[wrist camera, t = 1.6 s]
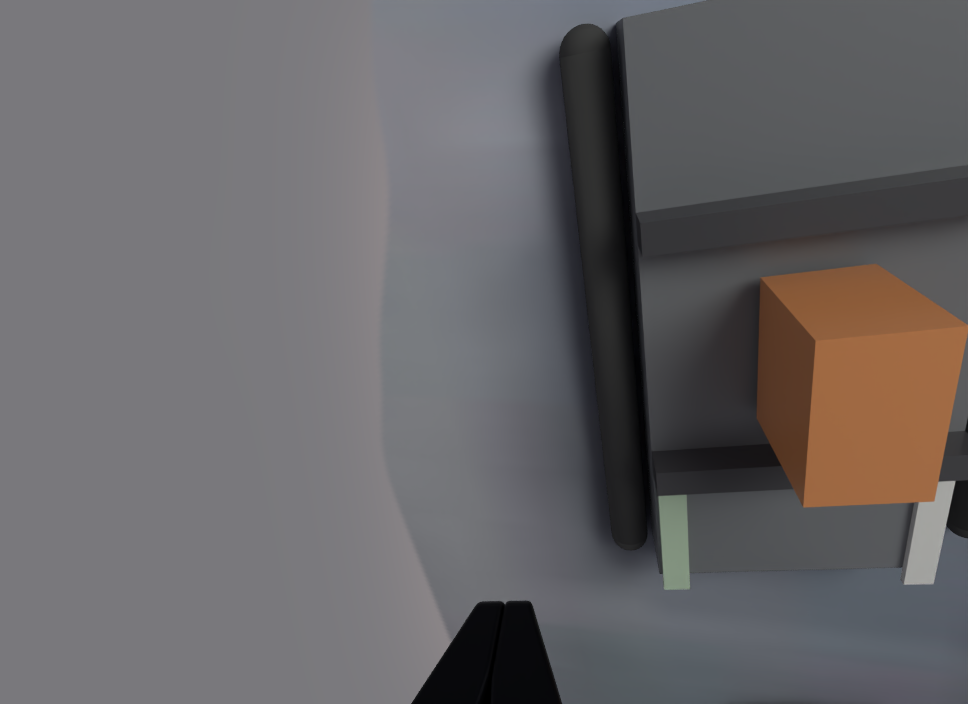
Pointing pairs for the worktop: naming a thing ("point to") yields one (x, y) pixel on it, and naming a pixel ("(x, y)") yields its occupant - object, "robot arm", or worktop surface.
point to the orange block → (856, 384)
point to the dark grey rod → (605, 271)
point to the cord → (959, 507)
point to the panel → (783, 249)
